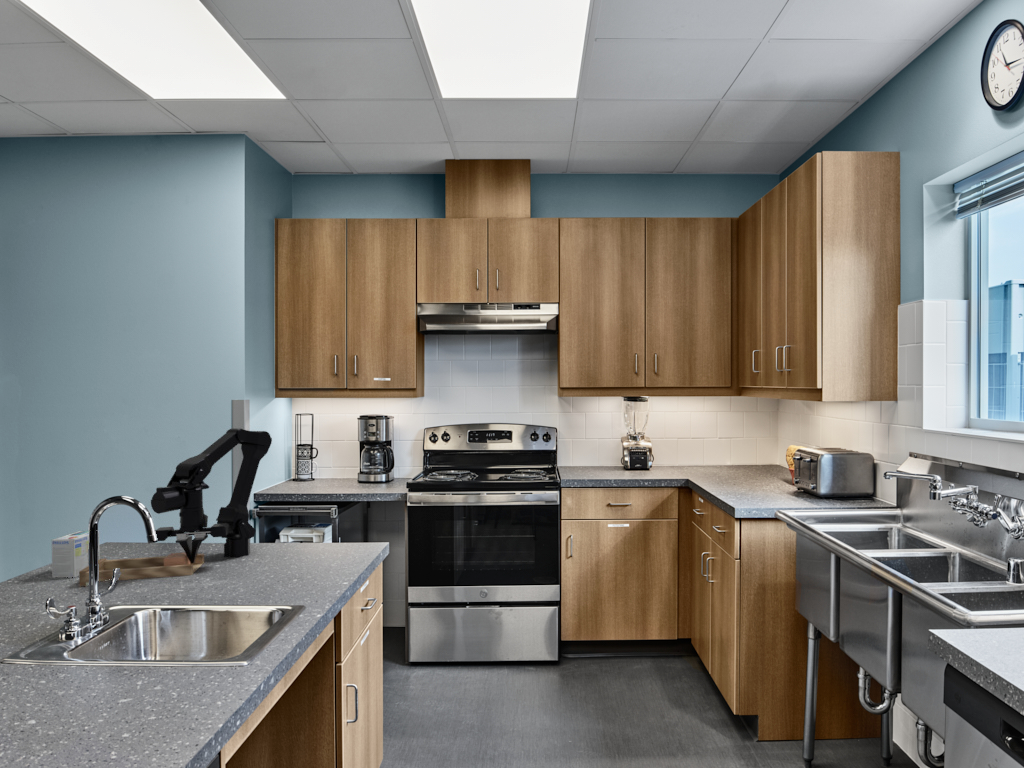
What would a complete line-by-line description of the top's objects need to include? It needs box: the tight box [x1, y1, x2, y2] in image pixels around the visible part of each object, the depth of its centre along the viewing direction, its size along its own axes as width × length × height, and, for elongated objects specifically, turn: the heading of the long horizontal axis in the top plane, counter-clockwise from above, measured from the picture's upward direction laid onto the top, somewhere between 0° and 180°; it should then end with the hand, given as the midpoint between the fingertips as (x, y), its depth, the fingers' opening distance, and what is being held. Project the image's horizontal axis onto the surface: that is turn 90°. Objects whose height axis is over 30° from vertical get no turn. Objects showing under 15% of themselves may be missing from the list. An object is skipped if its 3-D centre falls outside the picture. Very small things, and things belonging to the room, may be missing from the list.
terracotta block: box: [164, 551, 190, 566], centre depth 178 cm, size 5×6×4 cm
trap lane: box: [78, 553, 205, 588], centre depth 176 cm, size 27×13×4 cm, turn 102°
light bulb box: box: [51, 530, 101, 579], centre depth 181 cm, size 11×7×11 cm, turn 178°
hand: (192, 563), depth 179 cm, fingers closed
